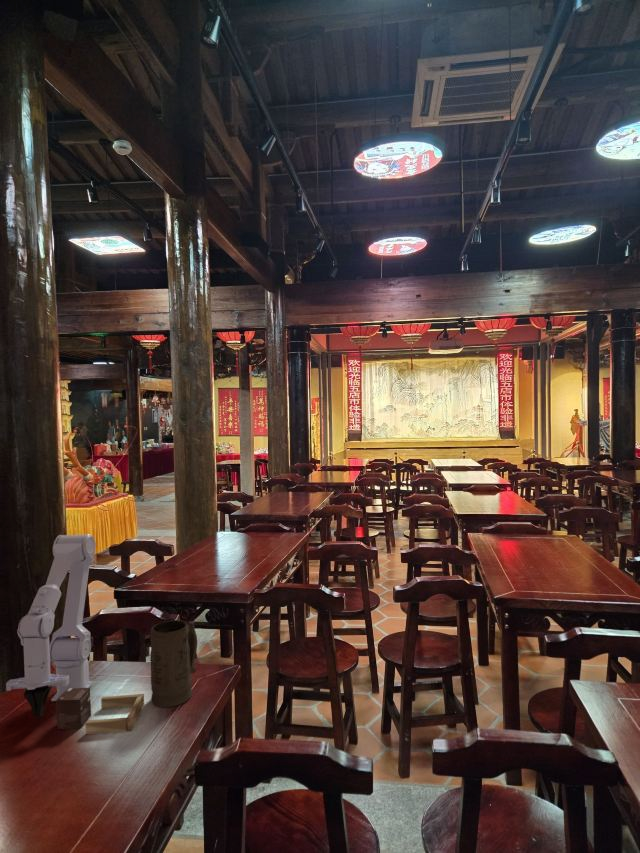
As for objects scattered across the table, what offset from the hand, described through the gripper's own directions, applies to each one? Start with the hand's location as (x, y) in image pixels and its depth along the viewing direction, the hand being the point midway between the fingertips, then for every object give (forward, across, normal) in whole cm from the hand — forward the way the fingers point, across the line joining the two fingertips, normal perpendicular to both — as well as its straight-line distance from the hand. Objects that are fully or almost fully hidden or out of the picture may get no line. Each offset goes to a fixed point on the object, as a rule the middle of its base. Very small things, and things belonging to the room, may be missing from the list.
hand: (39, 715), depth 133 cm
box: (+3, +8, 0) cm, 9 cm away
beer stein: (+2, +32, +11) cm, 34 cm away
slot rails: (+2, +18, 0) cm, 19 cm away
